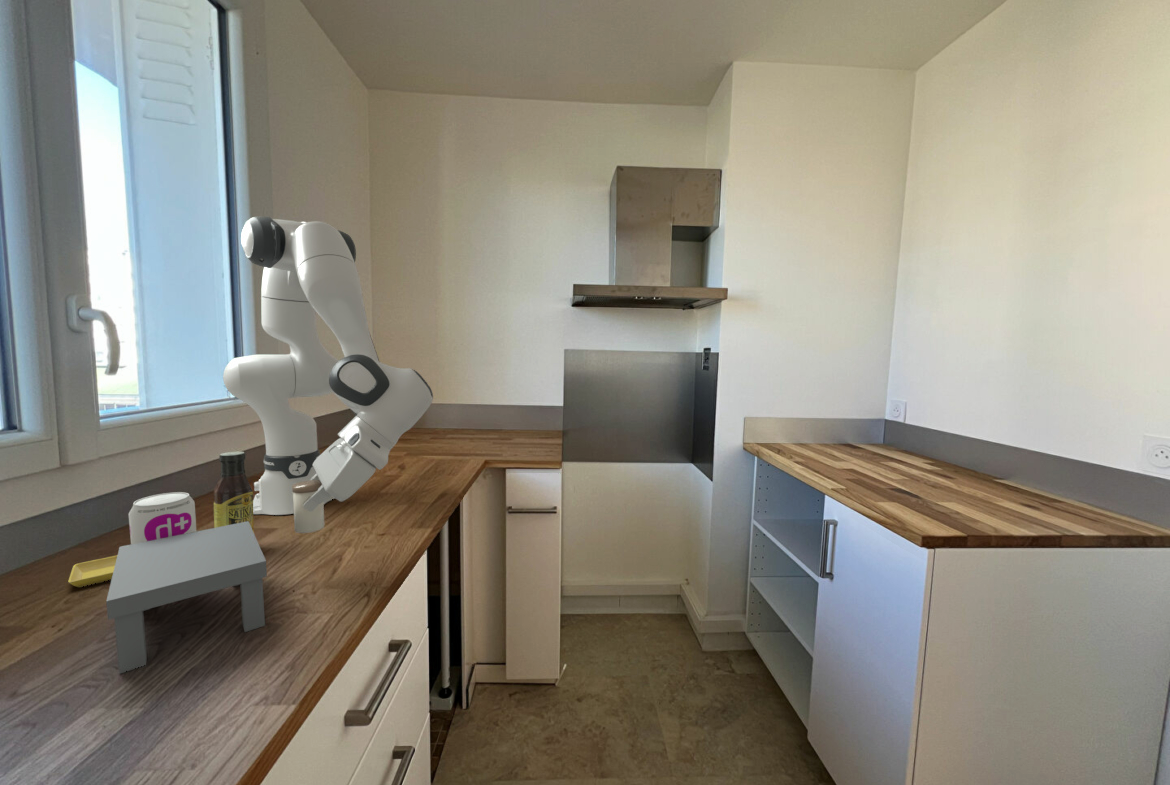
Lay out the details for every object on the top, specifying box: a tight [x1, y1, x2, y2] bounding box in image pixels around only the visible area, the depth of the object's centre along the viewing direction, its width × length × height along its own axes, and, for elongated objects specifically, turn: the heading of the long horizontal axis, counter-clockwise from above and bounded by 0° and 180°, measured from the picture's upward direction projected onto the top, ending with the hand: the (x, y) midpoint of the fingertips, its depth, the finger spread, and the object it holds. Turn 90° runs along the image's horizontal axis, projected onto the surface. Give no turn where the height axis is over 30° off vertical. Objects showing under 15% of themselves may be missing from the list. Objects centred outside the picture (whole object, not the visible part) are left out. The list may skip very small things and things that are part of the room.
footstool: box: [105, 521, 268, 675], centre depth 68 cm, size 20×16×10 cm
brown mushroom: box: [292, 480, 325, 534], centre depth 80 cm, size 5×5×8 cm
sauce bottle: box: [213, 451, 255, 534], centre depth 90 cm, size 6×6×20 cm
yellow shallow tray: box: [67, 554, 118, 588], centre depth 81 cm, size 9×9×2 cm
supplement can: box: [128, 491, 198, 545], centre depth 77 cm, size 8×8×15 cm
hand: (304, 503), depth 79 cm, fingers closed on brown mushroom, 4 cm apart
